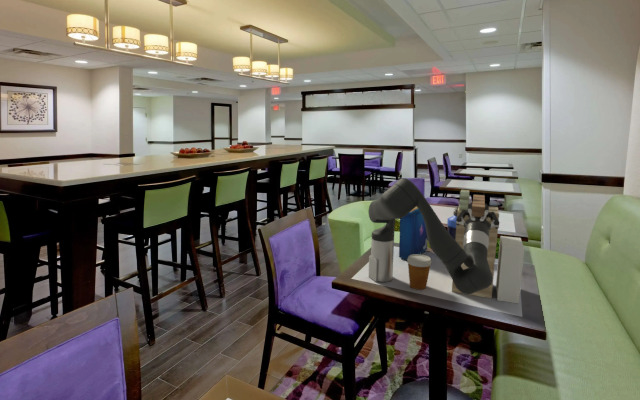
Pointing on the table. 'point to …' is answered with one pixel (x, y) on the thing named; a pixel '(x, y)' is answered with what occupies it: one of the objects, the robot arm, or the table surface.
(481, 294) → the birch rack
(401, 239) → the book
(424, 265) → the disposable coffee cup
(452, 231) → the water bottle
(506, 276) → the grey rectangular block
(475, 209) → the walnut block
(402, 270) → the table surface
